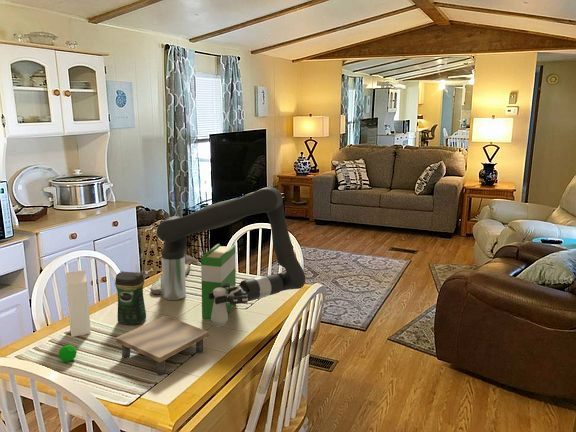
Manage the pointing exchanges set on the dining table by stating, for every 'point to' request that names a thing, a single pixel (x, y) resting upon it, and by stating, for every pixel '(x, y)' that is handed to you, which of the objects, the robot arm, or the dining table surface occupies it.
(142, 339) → the small wooden table
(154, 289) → the long grey stone
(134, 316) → the coffee jar
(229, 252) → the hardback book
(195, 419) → the dining table surface
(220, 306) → the salt shaker
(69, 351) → the polyhedron
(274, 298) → the dining table surface
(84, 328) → the milk
